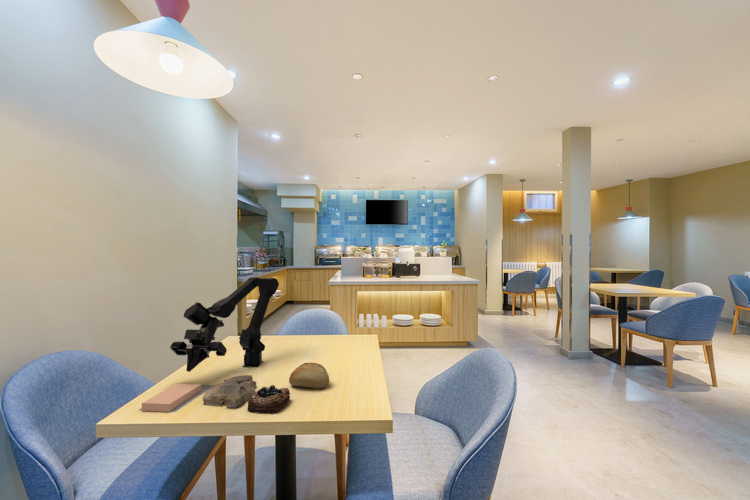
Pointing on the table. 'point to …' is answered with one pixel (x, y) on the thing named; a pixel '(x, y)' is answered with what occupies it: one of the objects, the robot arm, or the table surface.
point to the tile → (171, 397)
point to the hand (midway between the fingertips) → (188, 371)
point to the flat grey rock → (231, 392)
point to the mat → (203, 389)
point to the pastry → (268, 400)
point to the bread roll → (310, 376)
